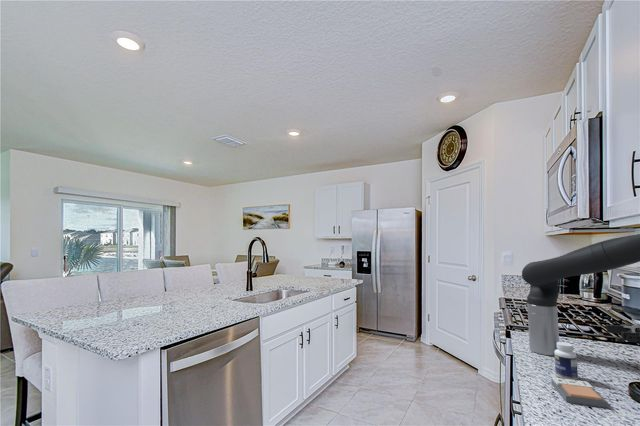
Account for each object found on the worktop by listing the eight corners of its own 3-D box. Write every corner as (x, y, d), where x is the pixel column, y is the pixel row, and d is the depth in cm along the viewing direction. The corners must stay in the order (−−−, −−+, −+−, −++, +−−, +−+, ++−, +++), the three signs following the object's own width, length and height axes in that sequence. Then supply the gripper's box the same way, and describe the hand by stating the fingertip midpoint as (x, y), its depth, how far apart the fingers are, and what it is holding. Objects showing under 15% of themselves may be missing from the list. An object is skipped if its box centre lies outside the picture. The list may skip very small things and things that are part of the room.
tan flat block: (551, 384, 91) (551, 376, 92) (587, 389, 88) (587, 380, 89) (566, 402, 81) (565, 393, 81) (608, 408, 78) (607, 398, 78)
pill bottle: (551, 375, 98) (549, 342, 99) (563, 372, 100) (561, 340, 101) (570, 382, 93) (568, 347, 94) (582, 379, 95) (580, 345, 96)
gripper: (668, 317, 95) (601, 314, 100) (706, 329, 82) (626, 324, 87) (671, 344, 94) (603, 338, 100) (710, 360, 81) (629, 353, 86)
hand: (614, 332), depth 93 cm, fingers open, 8 cm apart
